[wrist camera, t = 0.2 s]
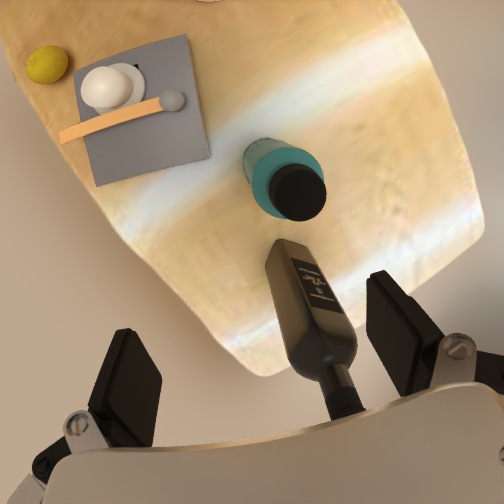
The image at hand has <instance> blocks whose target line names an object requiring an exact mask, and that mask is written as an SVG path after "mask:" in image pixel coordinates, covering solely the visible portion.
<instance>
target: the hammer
mask: <svg viewBox="0 0 504 504" xmlns="http://www.w3.org/2000/svg"><path fill="white" fill-rule="evenodd" d="M185 105H186V98H185V96H184V95H183V94H182V93H180V92H178V91H176V90H174V89H168V90H166V91H164V92H163V93H162V94H161V95H160V97H157V98H153V99H149V100H146V101H142V102H139V103H136V104H133V105H129V106H126V107H123V108H120V109H117V110H114V111H111V112H109V113H106V114H103V115H100V116H97V117H95V118H92V119H90V120H87V121H84V122H82V123H79V124H77V125H74V126H72V127H70V128H67V129H65V130H63V131H60V132H59V137H60V141H61V144H65V143H68V142H70V141H73V140H75V139H78V138H80V137H83V136H85V135H88V134H91V133H93V132H96V131H99V130H102V129H105V128H108V127H110V126H113V125H116V124H119V123H123V122H126V121H129V120H132V119H135V118H139V117H142V116H146V115H149V114H153V113H156V112H160V111H164V110H166V111H172V112H178V111H180V110H182V109H183V108H184V107H185Z"/></svg>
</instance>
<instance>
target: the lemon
mask: <svg viewBox="0 0 504 504" xmlns="http://www.w3.org/2000/svg"><path fill="white" fill-rule="evenodd" d="M67 66H68V57H67V55H66V53H65V52H64V51H63V50H62V49H61V48H59V47H56V46H44V47H41V48H39V49H37V50H35V51H34V52H33V53H32V54H31V56H30V57H29V59H28V61H27V63H26V73H27V76H28V77H29V79H30V80H32V81H33V82H35V83H38V84H50V83H53V82H55V81H57V80H58V79H60V78H61V77H62V76H63V74H64V73H65V71H66V69H67Z"/></svg>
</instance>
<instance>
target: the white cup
mask: <svg viewBox="0 0 504 504" xmlns="http://www.w3.org/2000/svg"><path fill="white" fill-rule="evenodd" d="M198 1H203V2H214V1H220V0H198Z"/></svg>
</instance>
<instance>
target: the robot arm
mask: <svg viewBox="0 0 504 504" xmlns="http://www.w3.org/2000/svg"><path fill="white" fill-rule="evenodd" d="M366 287H367V312H366V332H367V336H368V338H369V340H370V342H371V343H372V345H373V347H374V348H375V351H376V352H377V354H378V356H379V358H380V360H381V361H382V363H383V365H384V367H385V369H386V370H387V372H388V374H389V376H390V378H391V380H392V382H393V384H394V385H395V387H396V389H397V391H398V393H399V395H400V396H401V397H403V398H400V399H398V400H395V401H392V402H389V403H387V404H384V405H381V406H378V407H375V408H372V409H369V410H366V411H363V412H360V413H356V414H353V415H350V416H347V417H343V418H340V419H337V420H333V421H329V422H326V423H322V424H318V425H314V426H310V427H306V428H302V429H298V430H293V431H289V432H284V433H278V434H273V435H268V436H263V437H257V438H250V439H244V440H237V441H230V442H221V443H212V444H202V445H191V446H174V447H152V444H153V436H154V429H155V423H156V416H157V410H158V404H159V398H160V392H161V386H162V376H161V374H160V372H159V371H158V369H157V367H156V366H155V364H154V362H153V361H152V359H151V357H150V356H149V354H148V352H147V350H146V349H145V347H144V345H143V343H142V342H141V340H140V338H139V336H138V334H137V333H136V332H135V331H132V329H130V328H126V329H120V330H117V331H116V332H115V334H114V337H113V339H112V342H111V344H110V347H109V349H108V352H107V354H106V357H105V359H104V362H103V364H102V367H101V370H100V372H99V375H98V377H97V380H96V383H95V385H94V388H93V391H92V394H91V397H90V400H89V403H88V406H89V409H88V411H86V410H79V411H76V412H74V413H72V414H71V415H69V416H68V418H67V419H66V421H65V423H64V425H63V432H64V435H65V436H63V437H62V438H61V439H59V440H58V441H56V442H55V443H54V444H52V445H51V446H49V447H48V448H47V449H45V450H44V451H42V452H41V453H40V454H39V455H37V456H36V458H35V459H34V461H33V464H32V471H33V474H32V475H31V474H30V473H29V474H28V475H27V477H26V478H25V479H24V480H23V481H22V483H21V484H20V485H19V486H18V488H17V489H16V490H15V491H14V493H13V494H12V495H11V496H10V498H9V500H8V503H7V504H504V356H502V355H497V354H492V353H487V352H482V351H477V346H476V344H475V342H474V340H473V339H472V338H471V337H469V336H467V335H466V334H462V333H452V334H449V335H447V336H445V335H444V334H443V333H442V332H441V330H440V329H439V328H438V327H437V325H436V324H435V323H434V322H433V321H432V319H430V317H429V316H428V315H427V314H426V312H425V311H424V310H423V309H422V308H421V307H420V305H419V304H418V303H417V302H416V301H415V300H414V299H413V298H412V297H411V296H408V295H407V294H406V293H405V292H404V291H403V290H402V289H401V287H400V286H399V285H398V284H397V283H396V282H395V281H394V280H393V278H392V277H391V276H390V275H389V274H388V273H387V272H386V271H385V270H382V271H379V272H375V273H372V274H371V275H370V278H368V279H367V281H366ZM404 396H405V397H404Z"/></svg>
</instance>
